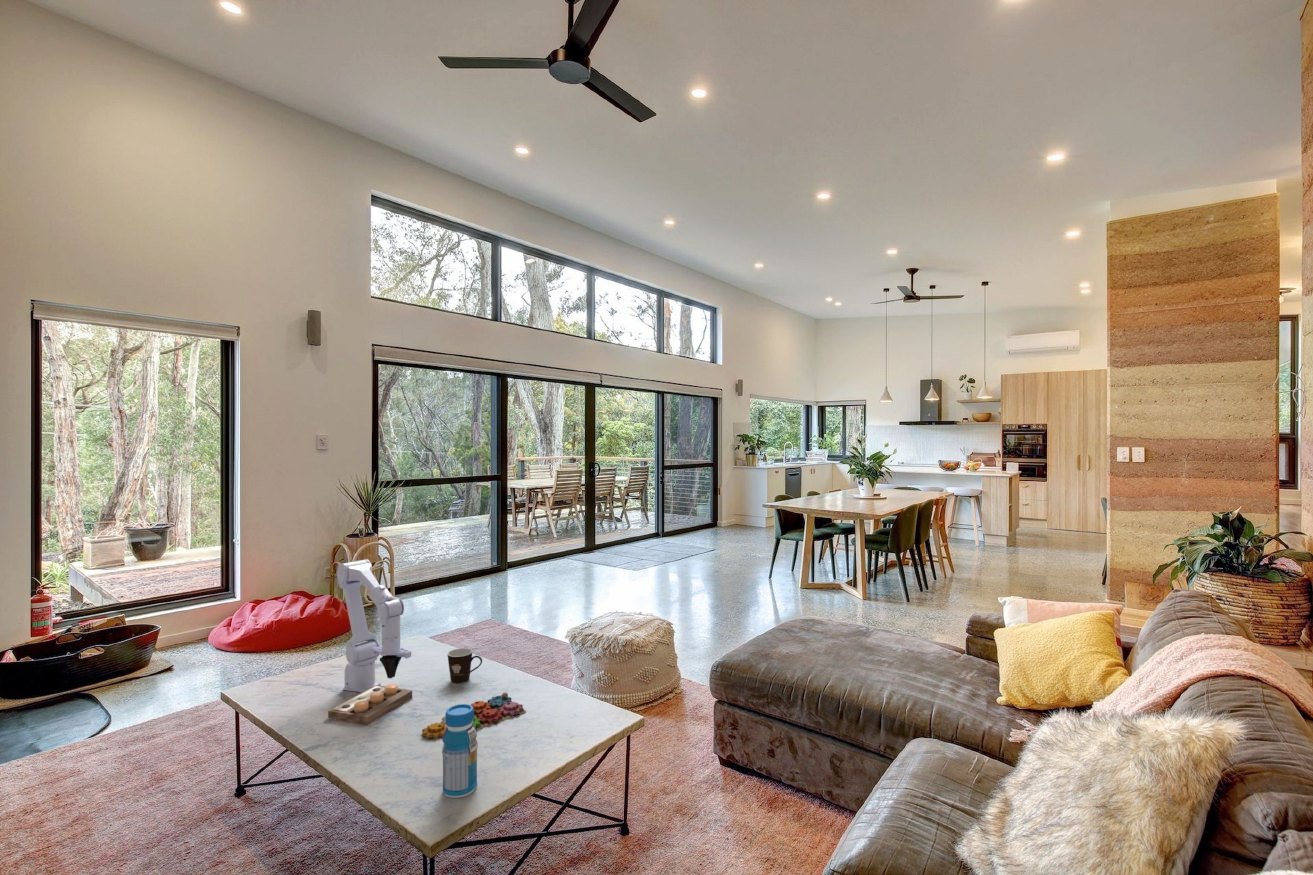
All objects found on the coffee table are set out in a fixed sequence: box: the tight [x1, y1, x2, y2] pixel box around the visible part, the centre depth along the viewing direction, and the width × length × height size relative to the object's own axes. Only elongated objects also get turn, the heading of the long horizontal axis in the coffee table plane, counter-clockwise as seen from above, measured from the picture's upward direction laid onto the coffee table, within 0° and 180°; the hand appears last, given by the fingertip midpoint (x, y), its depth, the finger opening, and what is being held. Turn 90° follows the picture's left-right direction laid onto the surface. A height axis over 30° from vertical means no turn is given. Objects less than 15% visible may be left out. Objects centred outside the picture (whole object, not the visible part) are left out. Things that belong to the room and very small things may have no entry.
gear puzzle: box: [421, 691, 527, 740], centre depth 186 cm, size 31×16×4 cm, turn 133°
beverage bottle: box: [441, 703, 479, 799], centre depth 149 cm, size 8×8×20 cm
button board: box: [327, 685, 413, 726], centre depth 194 cm, size 15×20×3 cm
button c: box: [384, 683, 399, 696], centre depth 199 cm, size 4×4×2 cm
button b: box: [370, 692, 384, 704], centre depth 193 cm, size 4×4×2 cm
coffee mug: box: [446, 647, 483, 685], centre depth 215 cm, size 12×9×10 cm
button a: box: [354, 701, 369, 713], centre depth 187 cm, size 4×4×2 cm
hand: (391, 677), depth 199 cm, fingers closed
